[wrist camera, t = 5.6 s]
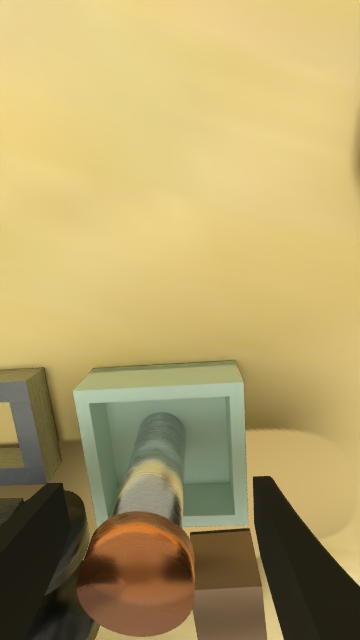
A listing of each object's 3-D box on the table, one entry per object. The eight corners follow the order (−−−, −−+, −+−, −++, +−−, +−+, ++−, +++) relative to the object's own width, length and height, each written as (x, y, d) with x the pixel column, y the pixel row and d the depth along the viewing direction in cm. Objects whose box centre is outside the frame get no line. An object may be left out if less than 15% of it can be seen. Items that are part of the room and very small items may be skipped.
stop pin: (195, 459, 15) (198, 636, 8) (135, 461, 15) (86, 636, 8) (191, 403, 14) (189, 543, 7) (127, 406, 14) (66, 547, 7)
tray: (239, 483, 16) (248, 525, 13) (111, 487, 16) (97, 528, 14) (234, 360, 14) (243, 382, 12) (93, 368, 14) (72, 391, 12)
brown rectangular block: (256, 593, 17) (269, 660, 15) (200, 596, 18) (202, 663, 15) (249, 527, 16) (261, 586, 14) (190, 532, 17) (189, 590, 14)
